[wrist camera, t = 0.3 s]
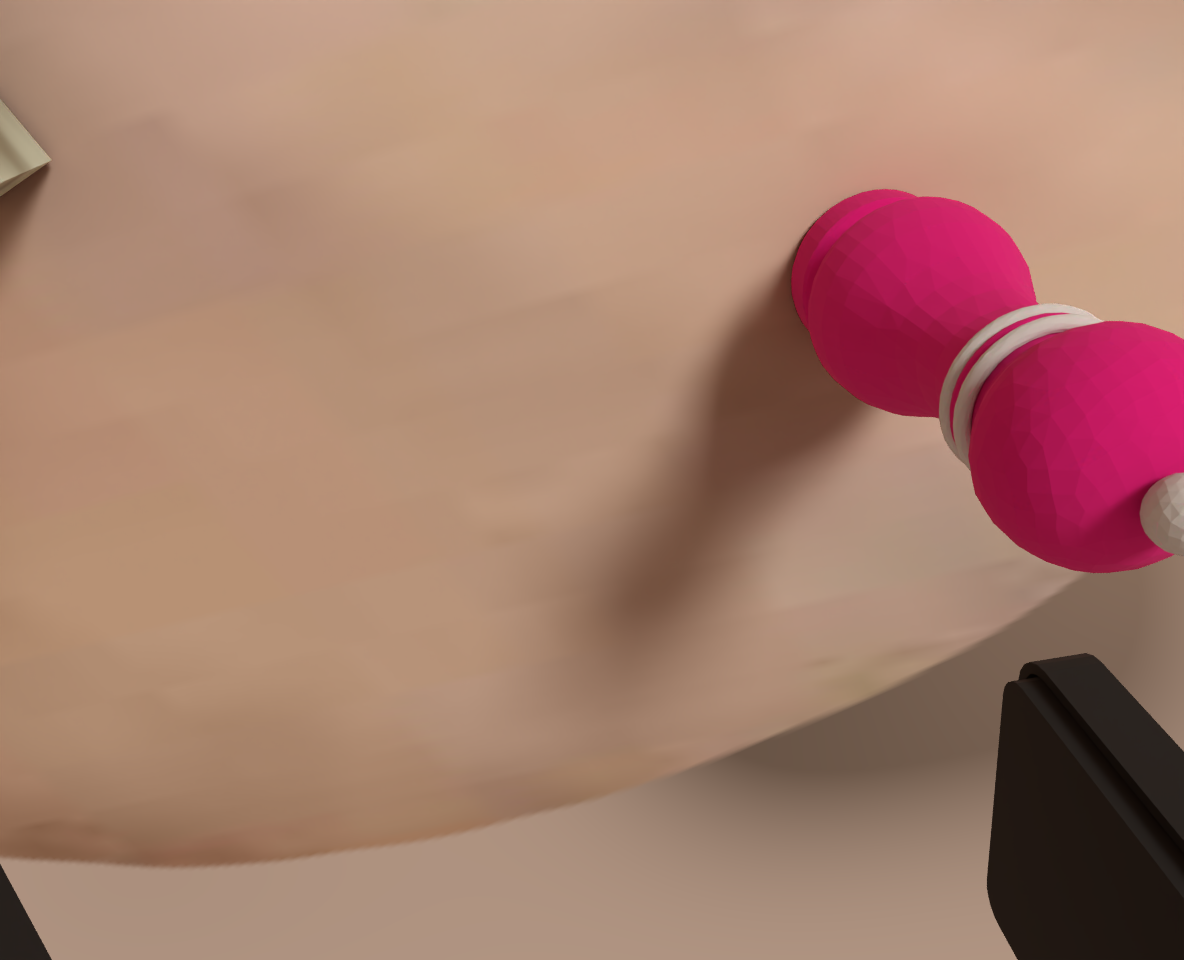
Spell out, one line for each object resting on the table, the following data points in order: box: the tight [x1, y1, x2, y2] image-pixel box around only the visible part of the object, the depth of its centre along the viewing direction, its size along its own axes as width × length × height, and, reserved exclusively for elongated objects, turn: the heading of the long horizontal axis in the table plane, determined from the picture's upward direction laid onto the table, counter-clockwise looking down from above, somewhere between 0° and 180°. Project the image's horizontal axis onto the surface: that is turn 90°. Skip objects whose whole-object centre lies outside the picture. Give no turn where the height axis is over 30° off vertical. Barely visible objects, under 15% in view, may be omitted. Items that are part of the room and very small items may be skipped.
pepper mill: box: [791, 189, 1184, 573], centre depth 29 cm, size 7×7×20 cm
